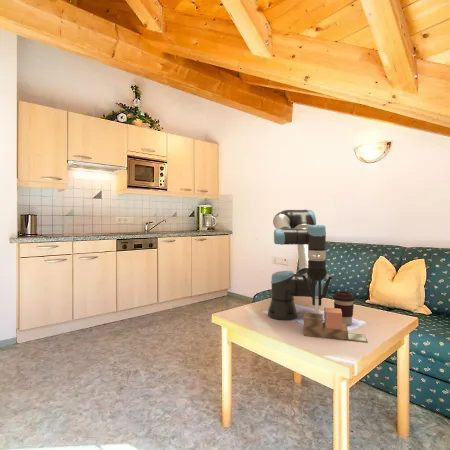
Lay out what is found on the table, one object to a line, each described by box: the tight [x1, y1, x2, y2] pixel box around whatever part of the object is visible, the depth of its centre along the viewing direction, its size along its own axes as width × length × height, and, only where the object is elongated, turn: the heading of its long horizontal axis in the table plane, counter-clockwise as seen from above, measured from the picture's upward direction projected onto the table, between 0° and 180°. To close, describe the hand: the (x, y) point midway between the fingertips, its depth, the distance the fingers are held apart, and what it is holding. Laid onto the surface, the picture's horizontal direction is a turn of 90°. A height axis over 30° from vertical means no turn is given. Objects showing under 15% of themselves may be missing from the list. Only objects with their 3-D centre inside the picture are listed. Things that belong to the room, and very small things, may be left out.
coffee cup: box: [332, 290, 356, 326], centre depth 144 cm, size 10×10×15 cm
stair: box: [303, 312, 368, 344], centre depth 129 cm, size 26×8×8 cm, turn 72°
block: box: [323, 306, 342, 330], centre depth 129 cm, size 7×7×7 cm
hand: (316, 312), depth 131 cm, fingers closed
